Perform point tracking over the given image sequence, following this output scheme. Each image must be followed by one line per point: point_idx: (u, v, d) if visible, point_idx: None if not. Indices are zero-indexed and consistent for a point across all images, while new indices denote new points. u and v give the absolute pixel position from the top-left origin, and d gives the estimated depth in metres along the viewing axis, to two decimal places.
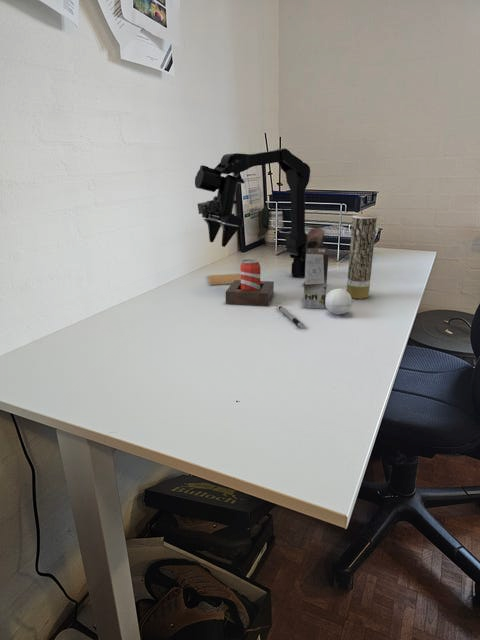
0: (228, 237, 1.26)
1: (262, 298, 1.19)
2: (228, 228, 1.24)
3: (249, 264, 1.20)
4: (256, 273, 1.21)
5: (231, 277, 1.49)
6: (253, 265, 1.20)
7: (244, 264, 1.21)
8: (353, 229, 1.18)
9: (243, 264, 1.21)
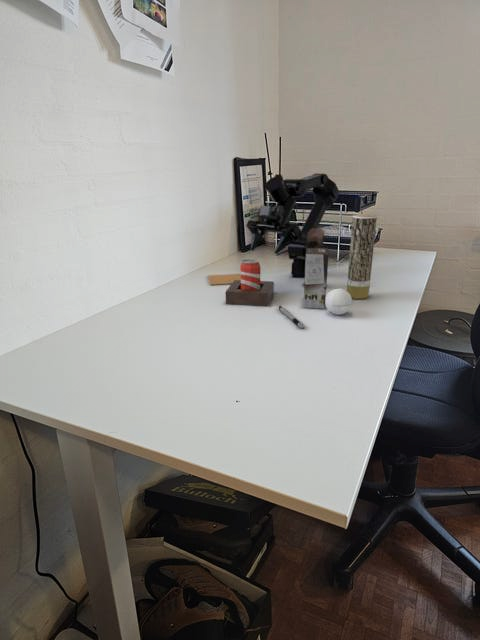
0: (282, 246, 1.26)
1: (262, 298, 1.19)
2: (285, 238, 1.26)
3: (249, 264, 1.20)
4: (256, 273, 1.21)
5: (231, 277, 1.49)
6: (253, 265, 1.20)
7: (244, 264, 1.21)
8: (353, 229, 1.18)
9: (243, 264, 1.21)
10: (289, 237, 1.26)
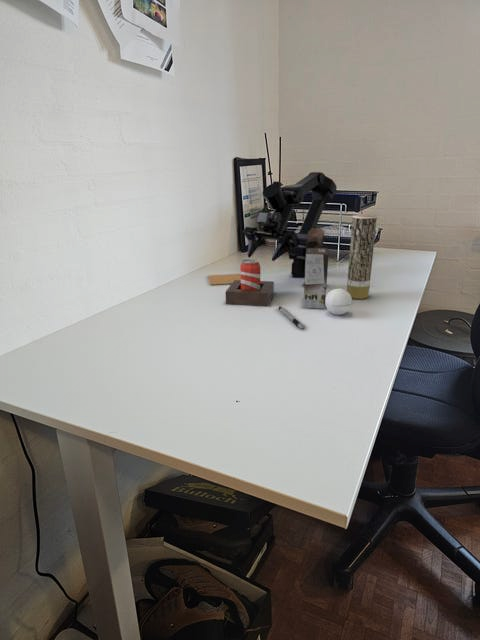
0: (279, 253, 1.25)
1: (262, 298, 1.19)
2: (283, 245, 1.25)
3: (249, 264, 1.20)
4: (256, 273, 1.21)
5: (231, 277, 1.49)
6: (253, 265, 1.20)
7: (244, 264, 1.21)
8: (353, 229, 1.18)
9: (243, 264, 1.21)
10: (286, 244, 1.25)
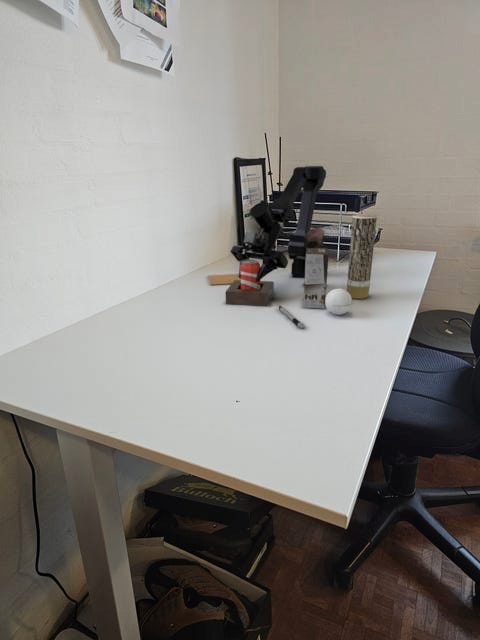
0: (263, 273, 1.22)
1: (262, 298, 1.19)
2: (267, 265, 1.22)
3: (249, 264, 1.20)
4: (256, 273, 1.21)
5: (231, 277, 1.49)
6: (253, 265, 1.20)
7: (244, 264, 1.21)
8: (353, 229, 1.18)
9: (243, 264, 1.21)
10: (271, 264, 1.22)
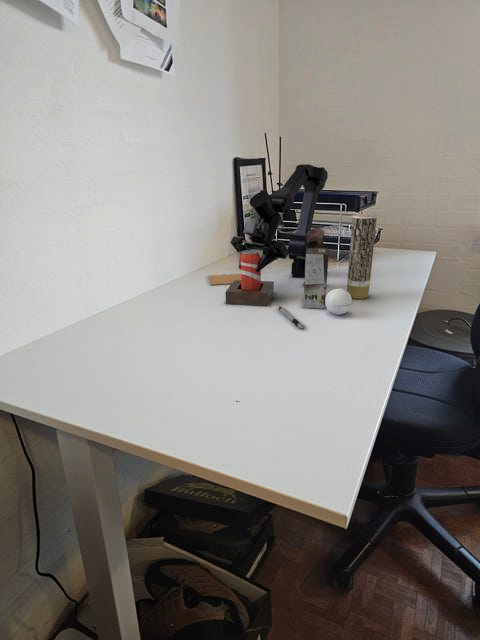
0: (264, 264, 1.21)
1: (262, 298, 1.19)
2: (267, 255, 1.21)
3: (249, 255, 1.19)
4: (257, 264, 1.20)
5: (231, 277, 1.49)
6: (253, 256, 1.19)
7: (244, 255, 1.20)
8: (353, 229, 1.18)
9: (243, 255, 1.20)
10: (271, 255, 1.21)
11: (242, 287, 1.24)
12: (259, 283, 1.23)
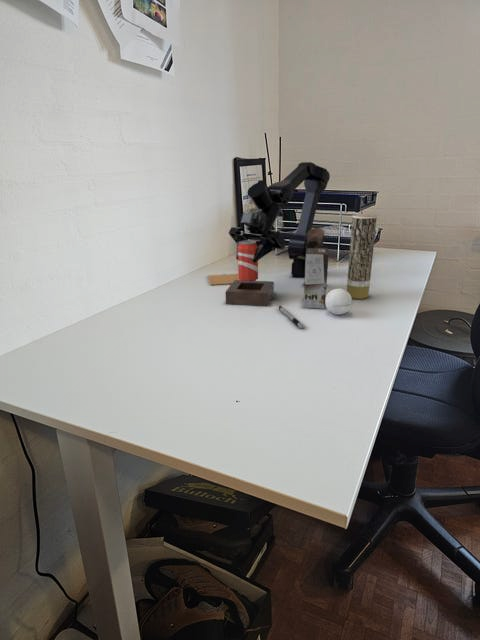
0: (261, 255, 1.21)
1: (262, 298, 1.19)
2: (264, 246, 1.21)
3: (246, 245, 1.19)
4: (254, 254, 1.20)
5: (231, 277, 1.49)
6: (250, 246, 1.19)
7: (241, 245, 1.20)
8: (353, 229, 1.18)
9: (240, 245, 1.20)
10: (268, 245, 1.21)
11: (239, 277, 1.24)
12: (256, 274, 1.23)
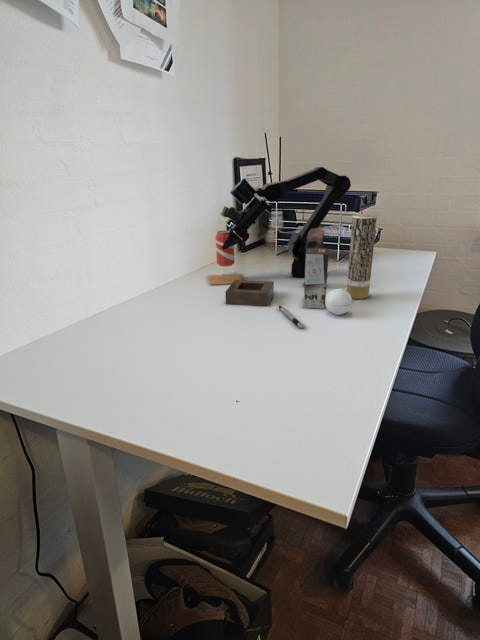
0: (230, 244, 1.38)
1: (262, 298, 1.19)
2: (234, 236, 1.37)
3: (218, 233, 1.39)
4: (223, 242, 1.39)
5: (231, 277, 1.49)
6: (221, 235, 1.39)
7: (217, 233, 1.41)
8: (353, 229, 1.18)
9: (217, 233, 1.41)
10: (236, 236, 1.37)
11: None
12: (227, 260, 1.41)
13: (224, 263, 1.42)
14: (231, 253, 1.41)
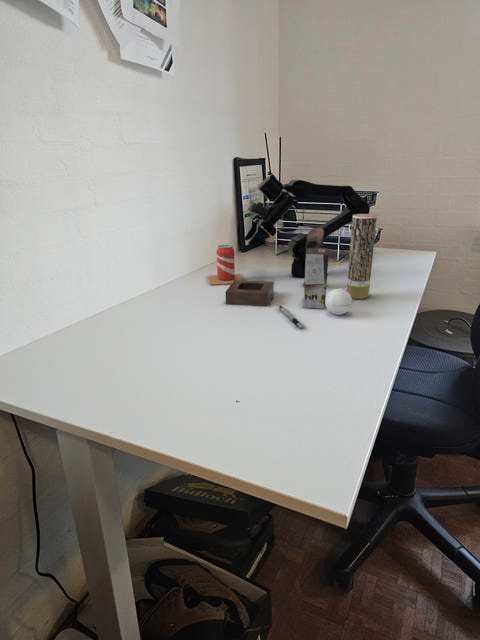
0: (257, 239, 1.38)
1: (262, 298, 1.19)
2: (261, 232, 1.37)
3: (219, 248, 1.42)
4: (223, 257, 1.41)
5: None
6: (222, 249, 1.41)
7: (218, 248, 1.43)
8: (353, 229, 1.18)
9: (218, 248, 1.44)
10: (264, 232, 1.36)
11: None
12: (227, 274, 1.44)
13: (224, 277, 1.44)
14: (231, 267, 1.44)
